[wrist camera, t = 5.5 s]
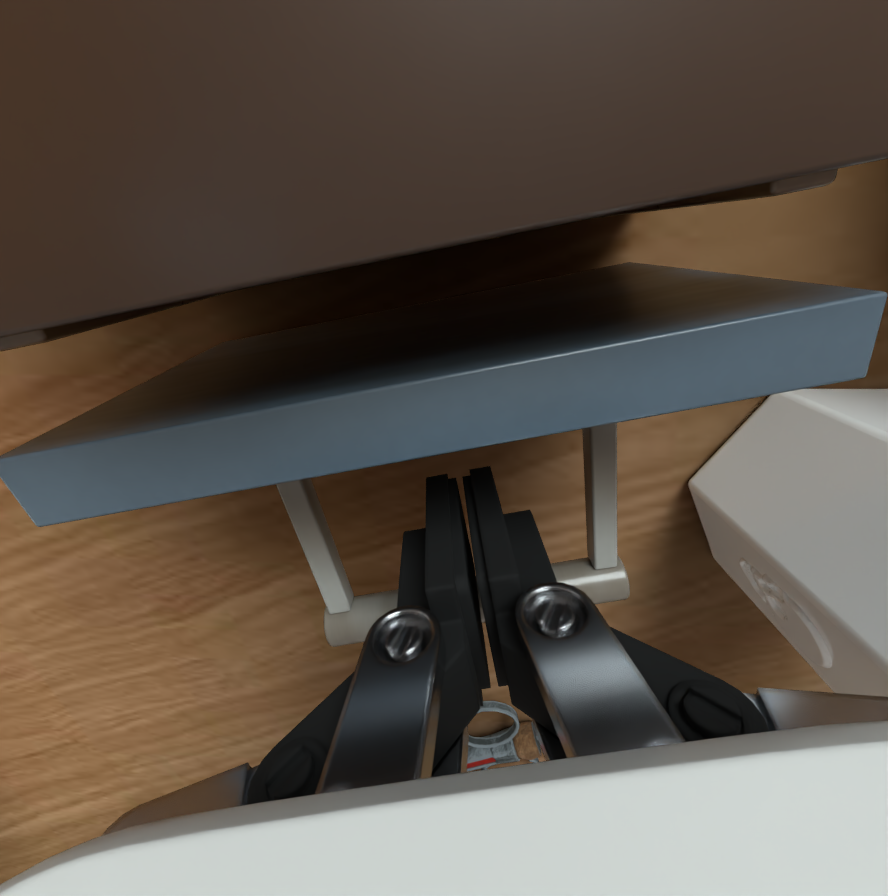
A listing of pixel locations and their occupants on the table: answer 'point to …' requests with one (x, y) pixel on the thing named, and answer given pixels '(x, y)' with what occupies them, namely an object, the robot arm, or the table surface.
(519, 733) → the syringe
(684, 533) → the table surface
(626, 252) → the table surface
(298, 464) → the drawer
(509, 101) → the cabinet
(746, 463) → the jar
